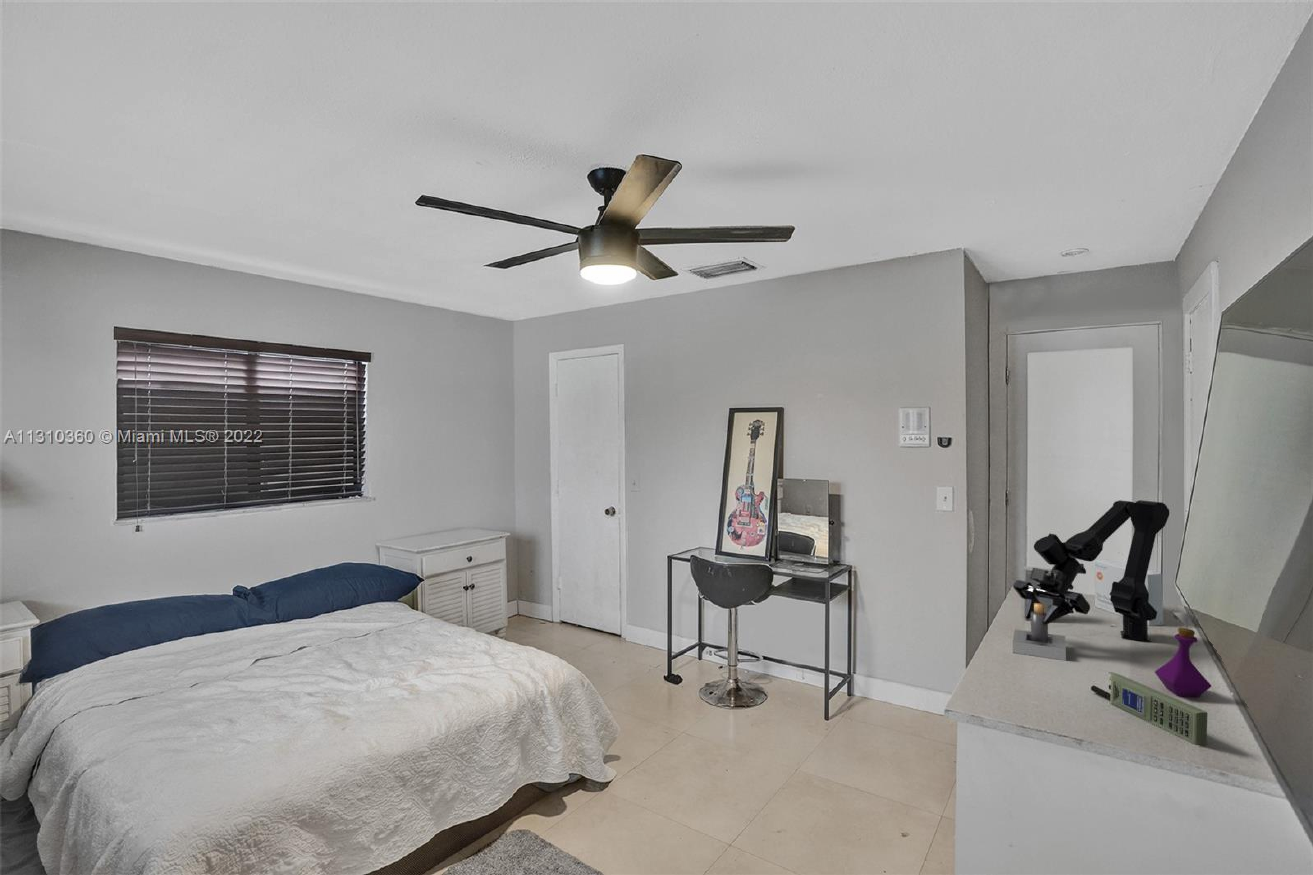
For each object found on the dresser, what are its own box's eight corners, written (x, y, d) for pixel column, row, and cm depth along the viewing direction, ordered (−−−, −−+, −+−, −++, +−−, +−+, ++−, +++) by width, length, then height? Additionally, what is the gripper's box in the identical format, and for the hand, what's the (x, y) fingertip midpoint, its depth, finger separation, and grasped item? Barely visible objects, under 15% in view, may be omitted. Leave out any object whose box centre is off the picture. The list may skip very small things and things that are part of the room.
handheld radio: (1195, 747, 120) (1085, 694, 145) (1210, 747, 121) (1098, 693, 145) (1196, 712, 120) (1086, 664, 145) (1211, 711, 121) (1099, 664, 145)
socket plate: (1015, 640, 182) (1015, 629, 182) (1065, 647, 175) (1065, 636, 175) (1012, 652, 172) (1012, 641, 172) (1065, 660, 165) (1065, 648, 165)
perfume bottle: (1212, 701, 140) (1211, 618, 140) (1173, 698, 141) (1172, 617, 141) (1191, 687, 147) (1190, 609, 147) (1154, 685, 149) (1153, 608, 149)
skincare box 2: (1093, 607, 214) (1092, 559, 214) (1108, 606, 214) (1107, 559, 214) (1148, 626, 193) (1147, 573, 193) (1164, 625, 194) (1164, 572, 193)
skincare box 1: (1024, 620, 200) (1023, 569, 200) (1020, 614, 207) (1020, 565, 207) (1055, 623, 197) (1055, 571, 197) (1051, 616, 204) (1050, 567, 204)
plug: (1031, 647, 176) (1030, 601, 176) (1048, 649, 174) (1047, 603, 174) (1030, 651, 173) (1030, 605, 173) (1048, 653, 171) (1047, 607, 171)
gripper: (1016, 551, 183) (990, 594, 179) (1082, 563, 166) (1055, 611, 162) (1035, 576, 187) (1009, 619, 182) (1102, 590, 170) (1075, 637, 165)
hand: (1035, 621), depth 173 cm, fingers open, 5 cm apart
